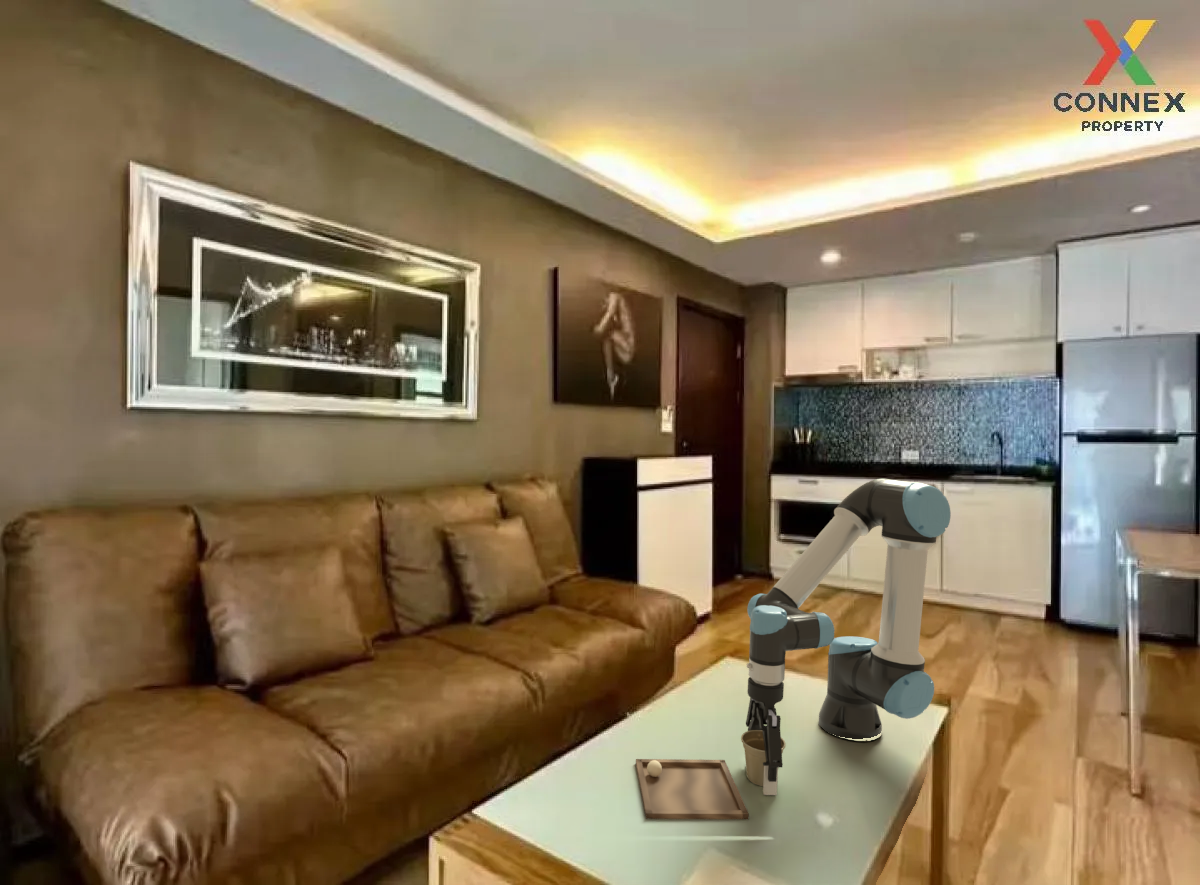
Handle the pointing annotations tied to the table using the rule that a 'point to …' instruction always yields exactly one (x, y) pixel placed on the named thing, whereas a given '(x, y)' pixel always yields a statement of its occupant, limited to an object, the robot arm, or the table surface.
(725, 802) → the tray
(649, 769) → the cream white ball
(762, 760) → the flower pot
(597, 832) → the table surface
